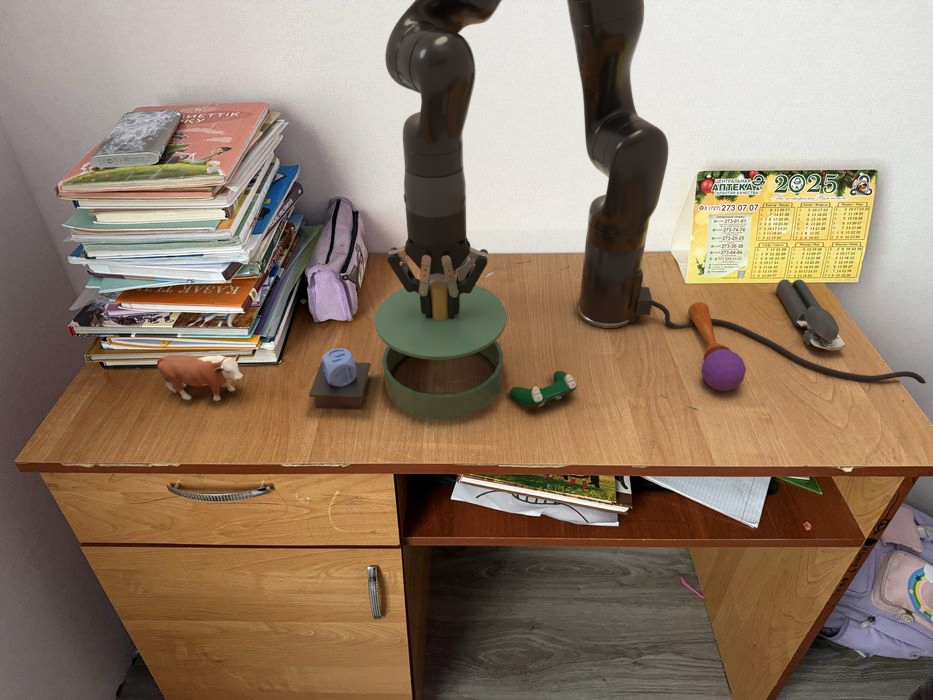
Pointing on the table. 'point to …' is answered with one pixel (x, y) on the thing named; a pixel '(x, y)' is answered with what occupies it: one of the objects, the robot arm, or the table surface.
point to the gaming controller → (544, 390)
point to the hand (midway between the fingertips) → (440, 314)
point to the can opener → (809, 315)
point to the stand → (341, 390)
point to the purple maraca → (716, 354)
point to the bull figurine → (199, 372)
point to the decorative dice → (339, 367)
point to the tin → (444, 404)
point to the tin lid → (440, 323)
